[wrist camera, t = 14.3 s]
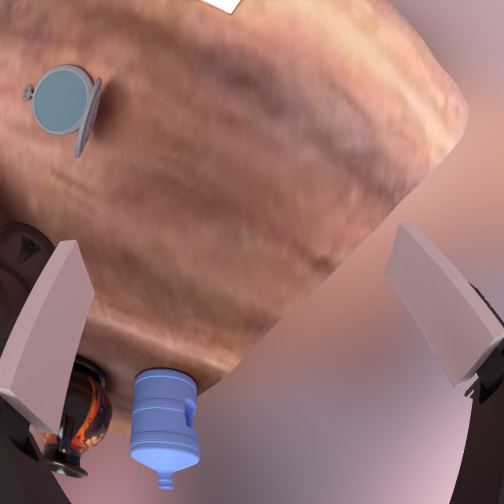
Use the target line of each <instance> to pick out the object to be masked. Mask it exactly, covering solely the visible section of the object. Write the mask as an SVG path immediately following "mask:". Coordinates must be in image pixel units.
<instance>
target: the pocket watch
mask: <svg viewBox="0 0 504 504" xmlns="http://www.w3.org/2000/svg"><path fill="white" fill-rule="evenodd" d="M101 85H102V79H101V78H100V77H98V78H97V80H96V82H95V84H94V86H93V84H92V81H91V79H90V78H89V76H88V75H87V74H86V72H85V71H83V70H82V69H81V68H79V67H76V66H73V65H61V66H58V67H55V68H53V69H51V70H50V71H48V72H47V73H46V74H45V75H44V76H43V77H42V78H41V79H40V81H39V82H38V84H37V86H36V88H35V90H34V93H32V90H31V88H30V86H26V87H29V90H28V91H26V92H25V96H26V98H27V100H28V99H29V98H30V97H31V96H32V97H33V98H32V110H33V115H34V118H35V120H36V122H37V123H38V125H39V126H40V127H41V128H42V129H43V130H44V131H46V132H47V133H50V134H52V135H58V136H61V135H67V134H70V133H72V132H75V131H76V130H78V129H79V132H78V137H77V142H76V148H75V158H77V157H80V155H81V153H82V151H83V149H84V147H85V145H86V142H87V140H88V138H89V135H90V133H91V130H92V128H93V125H94V122H95V119H96V115H97V110H98V106H99V101H100V94H101ZM26 87H25V88H26ZM25 88H24V89H23V92H24V90H25ZM23 92H22V99H23ZM27 100H24V99H23V101H27Z"/></svg>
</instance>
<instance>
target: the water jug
mask: <svg viewBox="0 0 504 504" xmlns="http://www.w3.org/2000/svg"><path fill="white" fill-rule="evenodd" d="M134 389H135V391H134V402H133V408H132V428H131V438H130V454H131V456H132V458H134V459H135V460H137V461H139V462H140V463H142V464H144V465H146V466H148V467H150V468H152V469H154V470H156V471H157V472H158V482H159V486H158V488H161V489H173V486H172V482H173V479H172V474H173V473H174V472H175V471H178V470H181V469H184V468H187V467H189V466H192V465H194V464H196V463H198V462H199V459H200V458H199V457H200V456H199V454H200V447H199V442H198V433H197V432H196V431H195V430H194V414H195V412H196V409H197V402H196V394H197V387H196V384H195V382H194V380H193V379H192V378H190V377H189V376H188V375H186V374H184V373H182V372H179V371H175V370H171V369H151V370H147V371H144V372H142V373H140V374H139V375H138V376H137V377H136V379H135V385H134ZM185 418H186V423H185Z"/></svg>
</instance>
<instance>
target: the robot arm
mask: <svg viewBox="0 0 504 504" xmlns="http://www.w3.org/2000/svg"><path fill="white" fill-rule="evenodd" d="M384 275H385V276H386V278H387V279H388V281H389V282H390V284H391V285H392V287H393V288H394V289H395V291H396V292H397V294H398V296H399V297H400V299H401V300H402V302H403V303H404V305H405V306H406V308H407V309H408V311H409V313H410V314H411V315H412V317H413V319H414V320H415V322H416V324H417V325H418V327H419V328H420V330H421V332H422V333H423V335H424V337H425V338H426V340H427V342H428V343H429V345H430V347H431V348H432V350H433V352H434V353H435V355H436V357H437V359H438V361H439V362H440V364H441V366H442V367H443V369H444V371H445V373H446V375H447V376H448V378H449V380H450V382H451V384H452V386H453V388H456V387H458V386H461V385H463V384H465V383H467V382H468V381H469V380H470V379H471V378H472V377H473V375H474V374H475V373H477V375H478V377H479V378H478V379H477V380H476V381H475V382H474V383H473V384H472V385H471V387H470V388H469V389H468V390H467V391H466V393H465V395H464V396H466V397H467V395H469V394H470V393H471V391H472V390H474V393H473V394H472V395H471V396H470V398H472V399H473V403H472V410H471V417H470V423H469V429H468V434H467V440H466V445H465V449H464V453H463V458H462V462H461V466H460V470H459V473H458V477H457V481H456V484H455V487H454V491H453V494H452V497H451V500H450V503H449V504H504V322H503V321H502V320H501V318H500V317H499V316H498V314H497V313H496V312H495V310H494V309H493V308H492V307H490V304H489V303H488V302H487V300H485V298H484V297H483V295H482V294H481V293H480V292H479V291H478V289H477V288H475V287H474V286H473V285H471V284H470V283H469V282H467V280H466V279H465V278H464V277H463V276H462V275H461V273H460V272H459V271H458V270H457V269H456V268H455V267H454V266H453V264H452V263H451V262H450V261H449V260H448V259H447V258H446V257H445V256H444V254H442V252H441V251H440V250H439V249H438V248H437V247H436V246H435V245H434V244H433V243H432V242H431V241H430V240H429V239H428V237H427V236H426V235H425V234H424V233H423V232H422V231H421V230H419V228H418V227H417V226H416V225H414V223H399V227H398V230H397V234H396V237H395V240H394V243H393V247H392V250H391V253H390V256H389V259H388V262H387V265H386V269H385V272H384ZM94 295H95V292H94V289H93V287H92V284H91V281H90V279H89V276H88V273H87V270H86V267H85V264H84V262H83V259H82V256H81V252H80V249H79V246H78V243H77V240H68V241H60V243H59V244H58V246H57V248H56V249H55V248H54V247H53V245H52V244H51V242H50V241H49V240H48V239H47V238H46V237H45V236H44V235H43V234H42V233H41V232H39V231H38V230H36V229H35V228H33V227H31V226H29V225H26V224H22V223H12V224H9V225H7V226H5V227H4V228H3V229H2V230H1V231H0V504H71V502H70V501H69V499H68V498H67V497H66V495H65V493H64V492H63V490H62V489H61V487H60V485H59V484H58V482H57V480H56V478H55V477H54V475H53V473H52V472H51V470H50V468H49V466H48V464H47V463H46V461H45V459H44V457H43V455H42V453H41V452H40V449H39V447H38V445H37V443H36V441H35V439H34V437H33V435H32V434H31V433H30V431H29V427H30V424H32V425H33V426H34V427H35V428H36V429H37V430H39V431H40V432H45V433H50V434H55V435H58V433H59V427H60V422H61V416H62V411H63V406H64V401H65V397H66V392H67V388H68V384H69V379H70V375H71V371H72V367H73V363H74V360H75V356H76V352H77V349H78V345H79V342H80V338H81V335H82V332H83V328H84V325H85V322H86V319H87V316H88V313H89V310H90V307H91V304H92V301H93V298H94Z"/></svg>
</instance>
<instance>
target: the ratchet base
mask: <svg viewBox="0 0 504 504" xmlns="http://www.w3.org/2000/svg"><path fill="white" fill-rule="evenodd" d="M198 1H201V2H203V3H205V4H208V5H210V6H212V7H214V8H216V9H219V10H221V11H223V12H225V13H227V14H229V15H230V14H231V13H232V12H233V10H234V9H235V8H236V6H237V5H238V3H239V2H240V1H241V0H198Z"/></svg>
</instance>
